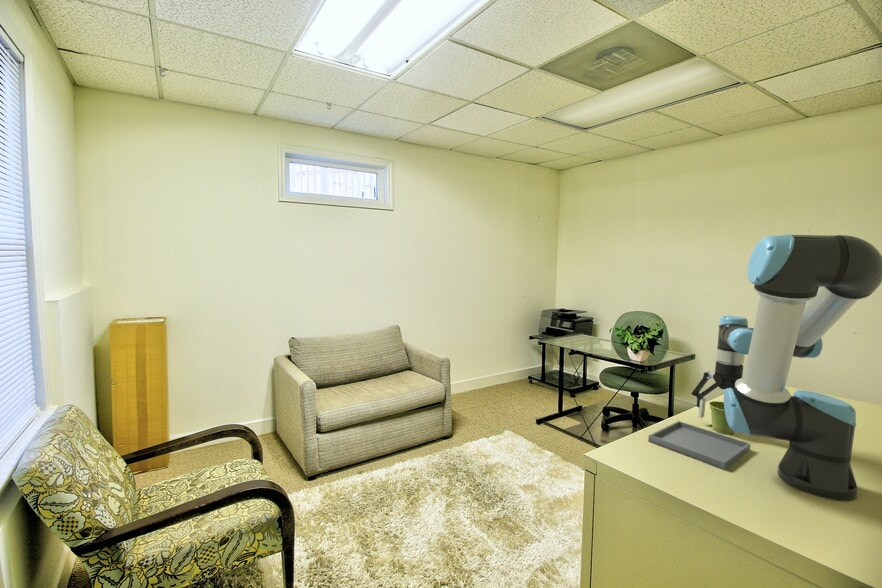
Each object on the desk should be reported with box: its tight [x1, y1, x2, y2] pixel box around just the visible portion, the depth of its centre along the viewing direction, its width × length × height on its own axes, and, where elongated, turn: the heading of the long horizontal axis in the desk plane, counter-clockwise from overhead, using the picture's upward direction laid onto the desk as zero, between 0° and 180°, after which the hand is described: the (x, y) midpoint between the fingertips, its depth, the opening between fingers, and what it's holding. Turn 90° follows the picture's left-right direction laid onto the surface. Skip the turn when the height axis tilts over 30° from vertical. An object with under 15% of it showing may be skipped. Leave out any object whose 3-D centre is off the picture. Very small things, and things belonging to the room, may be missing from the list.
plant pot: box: [708, 400, 735, 435], centre depth 137 cm, size 9×9×9 cm
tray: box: [647, 420, 752, 471], centre depth 125 cm, size 21×21×2 cm
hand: (723, 423), depth 137 cm, fingers open, 13 cm apart
